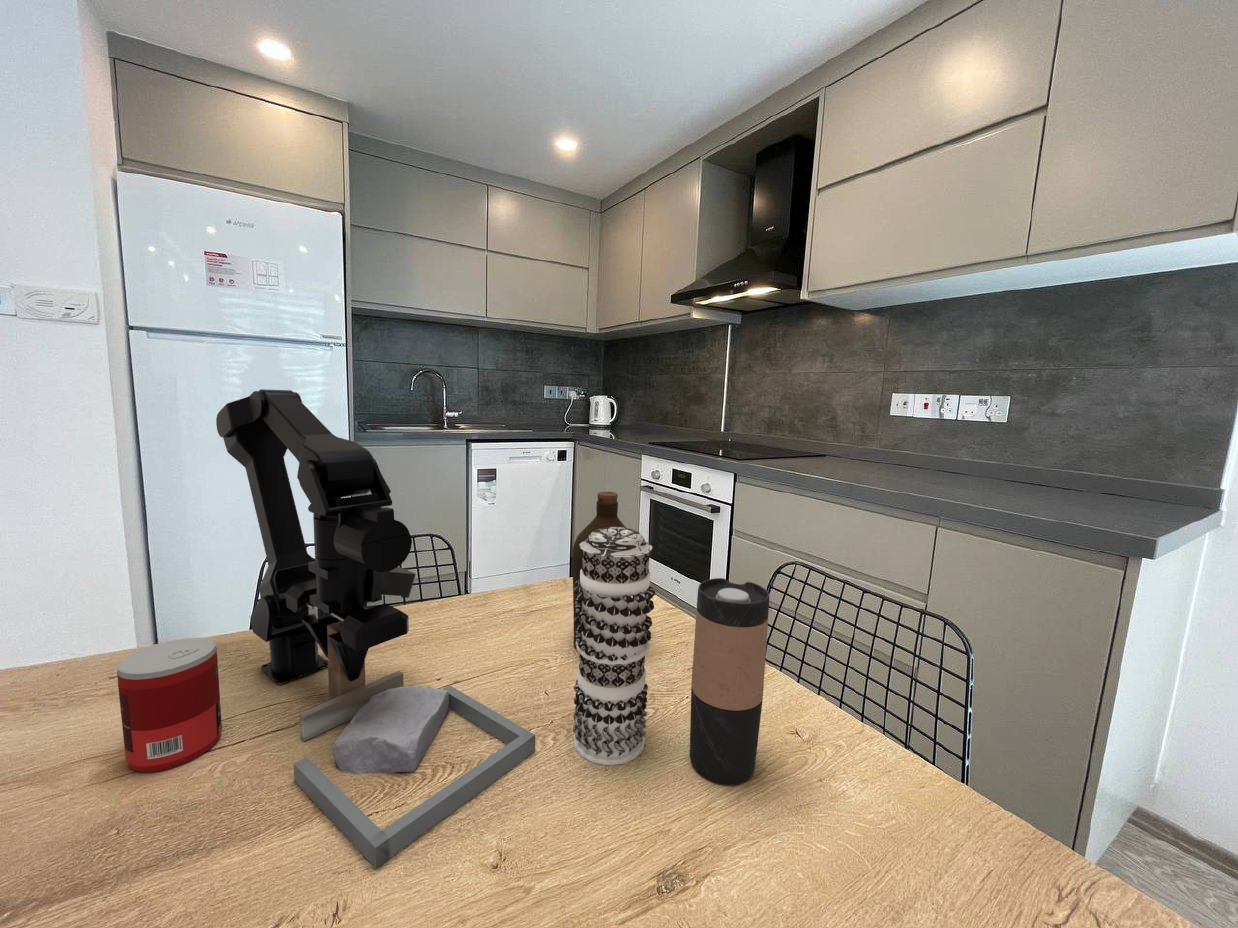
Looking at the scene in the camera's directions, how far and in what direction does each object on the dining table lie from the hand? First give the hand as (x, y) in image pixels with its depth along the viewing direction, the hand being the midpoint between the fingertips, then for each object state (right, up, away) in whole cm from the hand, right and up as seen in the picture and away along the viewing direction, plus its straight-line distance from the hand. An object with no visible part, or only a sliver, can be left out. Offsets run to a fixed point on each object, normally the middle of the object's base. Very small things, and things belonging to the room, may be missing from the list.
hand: (346, 674), depth 63 cm
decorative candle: (+33, -6, -3) cm, 33 cm away
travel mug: (+45, -7, -6) cm, 46 cm away
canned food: (-15, -5, -7) cm, 17 cm away
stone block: (+8, -6, -4) cm, 10 cm away
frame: (+12, -6, -8) cm, 16 cm away
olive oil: (+31, -3, +20) cm, 37 cm away
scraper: (0, -4, +1) cm, 4 cm away
